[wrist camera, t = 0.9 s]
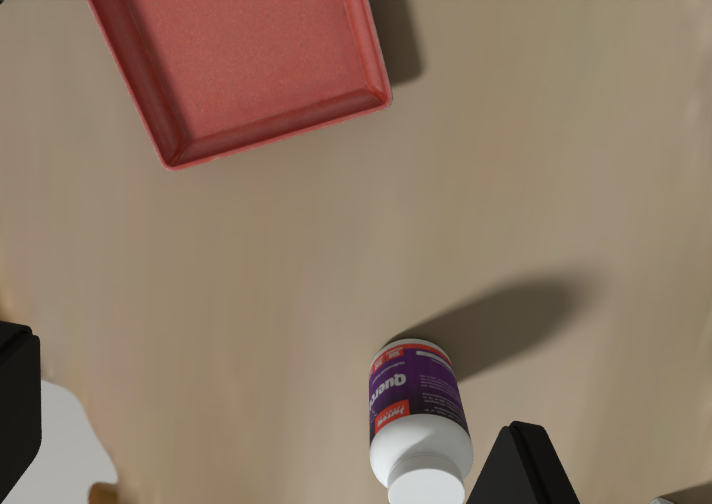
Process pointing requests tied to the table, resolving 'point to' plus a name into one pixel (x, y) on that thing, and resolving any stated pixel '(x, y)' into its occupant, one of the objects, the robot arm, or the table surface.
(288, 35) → the plant saucer
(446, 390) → the pill bottle
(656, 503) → the supplement box
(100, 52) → the table surface
